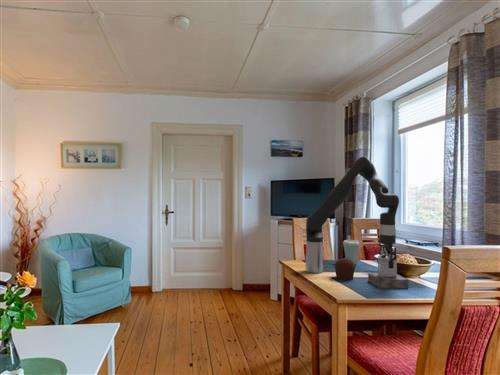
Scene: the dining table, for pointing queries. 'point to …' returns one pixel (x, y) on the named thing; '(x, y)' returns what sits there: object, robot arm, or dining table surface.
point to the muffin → (344, 269)
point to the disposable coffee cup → (351, 250)
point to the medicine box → (386, 268)
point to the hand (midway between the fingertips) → (387, 266)
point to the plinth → (388, 281)
